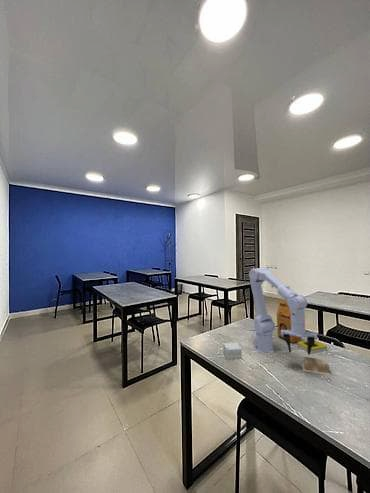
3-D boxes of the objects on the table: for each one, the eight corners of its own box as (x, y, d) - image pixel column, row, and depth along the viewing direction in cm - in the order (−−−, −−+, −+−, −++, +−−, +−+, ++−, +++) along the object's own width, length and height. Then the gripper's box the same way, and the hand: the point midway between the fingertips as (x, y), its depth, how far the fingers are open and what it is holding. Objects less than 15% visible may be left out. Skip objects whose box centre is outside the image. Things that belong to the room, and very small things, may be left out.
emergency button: (294, 340, 117) (316, 336, 121) (294, 348, 117) (316, 344, 121) (307, 347, 108) (331, 343, 112) (307, 356, 108) (331, 351, 112)
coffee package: (290, 344, 120) (289, 305, 121) (275, 336, 132) (273, 300, 132) (304, 341, 123) (302, 303, 124) (288, 333, 135) (286, 299, 135)
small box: (238, 351, 115) (237, 342, 115) (242, 359, 107) (241, 348, 107) (223, 352, 115) (223, 342, 115) (226, 359, 107) (226, 349, 107)
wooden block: (305, 360, 95) (329, 364, 91) (303, 356, 98) (326, 359, 95) (305, 369, 95) (329, 373, 91) (304, 365, 98) (327, 368, 95)
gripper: (280, 323, 97) (282, 354, 96) (318, 327, 91) (319, 359, 91) (280, 318, 103) (281, 347, 103) (314, 321, 98) (316, 351, 98)
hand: (299, 352), depth 97 cm, fingers open, 7 cm apart
